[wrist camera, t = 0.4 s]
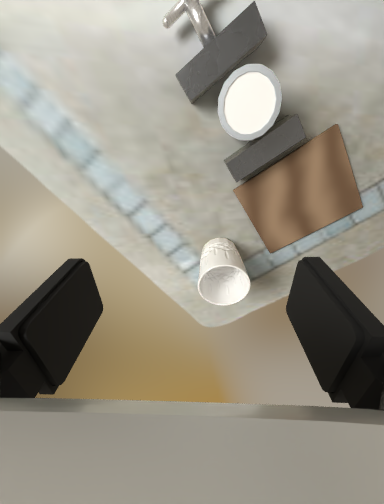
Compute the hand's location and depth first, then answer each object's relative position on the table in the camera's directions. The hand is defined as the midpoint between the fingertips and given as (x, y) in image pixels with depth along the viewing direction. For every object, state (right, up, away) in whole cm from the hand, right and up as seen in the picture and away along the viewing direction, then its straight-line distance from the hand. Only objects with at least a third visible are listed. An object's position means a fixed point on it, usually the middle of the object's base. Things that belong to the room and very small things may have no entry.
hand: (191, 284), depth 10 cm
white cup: (+5, +1, +31) cm, 31 cm away
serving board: (+17, +10, +25) cm, 32 cm away
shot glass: (+7, +21, +19) cm, 29 cm away
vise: (+5, +23, +18) cm, 29 cm away
